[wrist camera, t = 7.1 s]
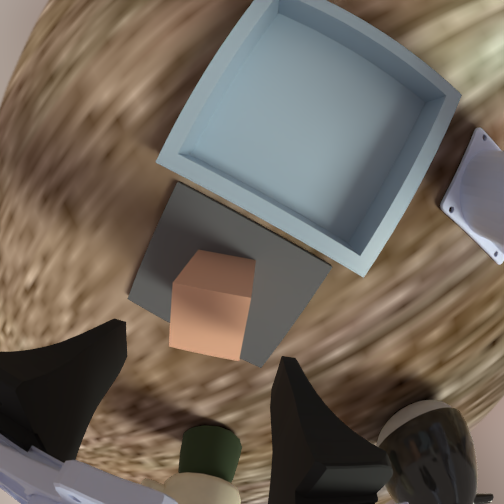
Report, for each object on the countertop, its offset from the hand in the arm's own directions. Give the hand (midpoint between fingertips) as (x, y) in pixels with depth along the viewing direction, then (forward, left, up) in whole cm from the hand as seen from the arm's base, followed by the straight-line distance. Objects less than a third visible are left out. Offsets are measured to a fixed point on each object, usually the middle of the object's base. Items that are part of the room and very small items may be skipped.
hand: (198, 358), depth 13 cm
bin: (0, -13, -9) cm, 16 cm away
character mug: (-7, +17, -10) cm, 21 cm away
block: (0, 0, -9) cm, 9 cm away
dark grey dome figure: (-25, +5, -10) cm, 27 cm away
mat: (0, 0, -9) cm, 9 cm away
